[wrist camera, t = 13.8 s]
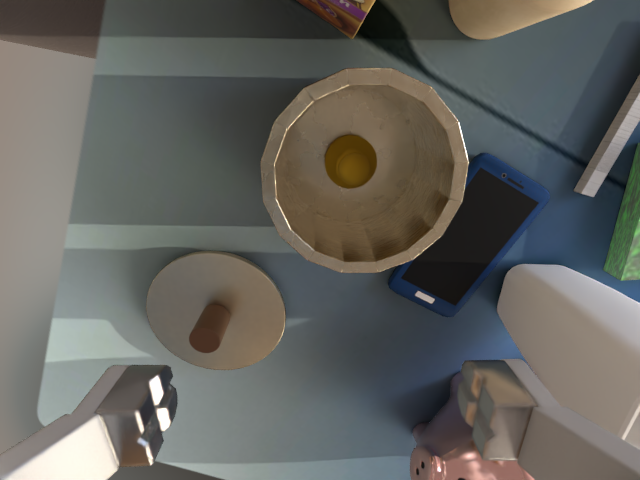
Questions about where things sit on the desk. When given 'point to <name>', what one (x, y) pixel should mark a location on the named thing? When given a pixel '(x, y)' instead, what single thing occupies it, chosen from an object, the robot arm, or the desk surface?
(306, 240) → the tin
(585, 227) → the desk surface
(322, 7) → the candy box
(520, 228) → the cell phone
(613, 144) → the light grey square bar
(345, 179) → the chess piece
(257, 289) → the tin lid
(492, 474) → the piggy bank
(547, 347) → the cup
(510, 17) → the candle
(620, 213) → the carved green slab
